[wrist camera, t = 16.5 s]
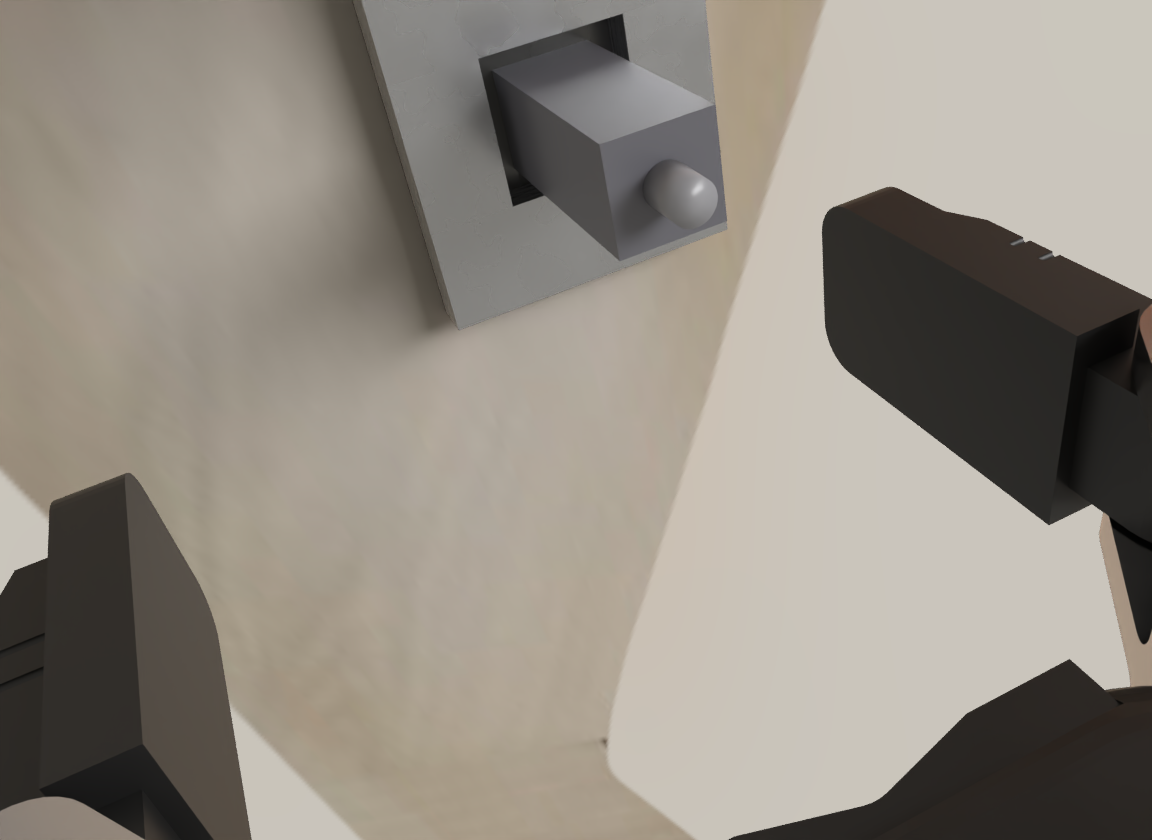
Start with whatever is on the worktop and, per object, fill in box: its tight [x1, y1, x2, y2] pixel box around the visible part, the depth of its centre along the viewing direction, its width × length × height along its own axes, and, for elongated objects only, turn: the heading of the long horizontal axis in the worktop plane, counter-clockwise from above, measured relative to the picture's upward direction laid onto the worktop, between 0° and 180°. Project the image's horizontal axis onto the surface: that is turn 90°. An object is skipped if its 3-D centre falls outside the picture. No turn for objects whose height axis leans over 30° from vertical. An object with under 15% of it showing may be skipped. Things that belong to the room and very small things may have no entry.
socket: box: [353, 0, 727, 330], centre depth 42 cm, size 16×14×3 cm
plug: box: [492, 40, 727, 261], centre depth 38 cm, size 4×4×13 cm
